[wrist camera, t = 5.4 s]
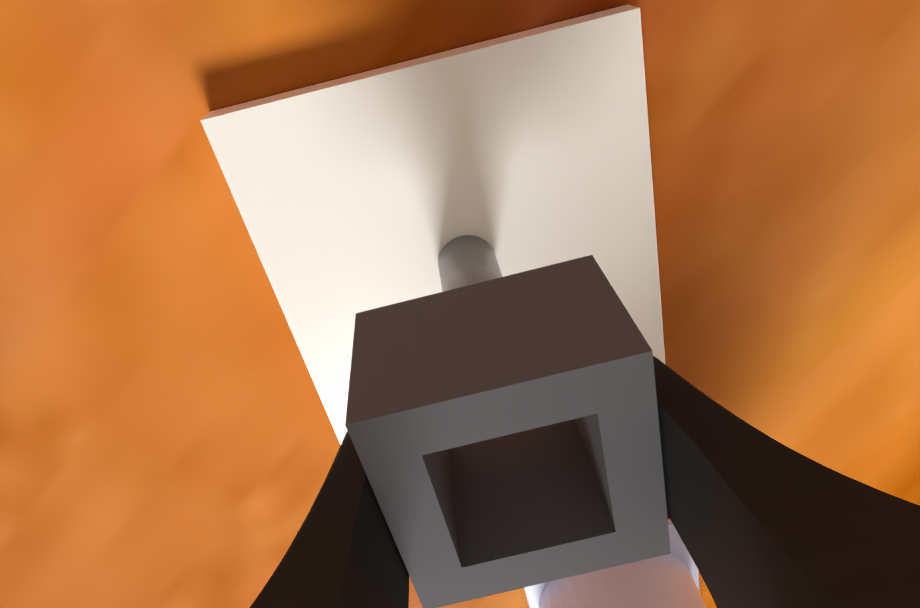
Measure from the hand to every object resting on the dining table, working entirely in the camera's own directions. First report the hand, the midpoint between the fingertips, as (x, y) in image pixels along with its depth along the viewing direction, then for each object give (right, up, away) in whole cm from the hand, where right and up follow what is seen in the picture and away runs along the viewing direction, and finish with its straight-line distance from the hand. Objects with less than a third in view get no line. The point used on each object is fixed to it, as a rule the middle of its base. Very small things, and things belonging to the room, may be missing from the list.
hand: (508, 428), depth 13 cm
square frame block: (0, +1, +1) cm, 2 cm away
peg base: (-1, +4, +8) cm, 9 cm away
